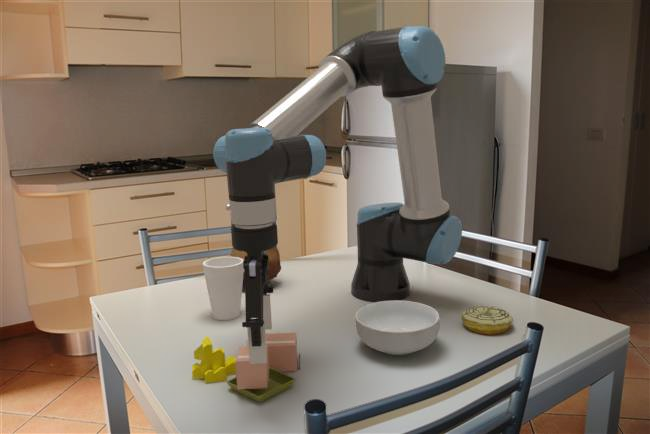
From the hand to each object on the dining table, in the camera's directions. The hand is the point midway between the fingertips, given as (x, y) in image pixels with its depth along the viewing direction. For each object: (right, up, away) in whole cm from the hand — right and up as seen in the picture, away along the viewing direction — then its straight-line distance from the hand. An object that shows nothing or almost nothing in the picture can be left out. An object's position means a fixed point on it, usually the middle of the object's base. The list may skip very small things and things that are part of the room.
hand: (261, 344), depth 98 cm
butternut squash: (-8, +3, +58) cm, 59 cm away
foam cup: (-12, -1, +36) cm, 38 cm away
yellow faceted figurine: (-9, -7, +7) cm, 14 cm away
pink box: (-1, -6, +1) cm, 6 cm away
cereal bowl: (+25, -4, +17) cm, 31 cm away
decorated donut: (+46, -2, +26) cm, 53 cm away
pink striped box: (+1, -6, +10) cm, 12 cm away
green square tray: (0, -9, +1) cm, 9 cm away
